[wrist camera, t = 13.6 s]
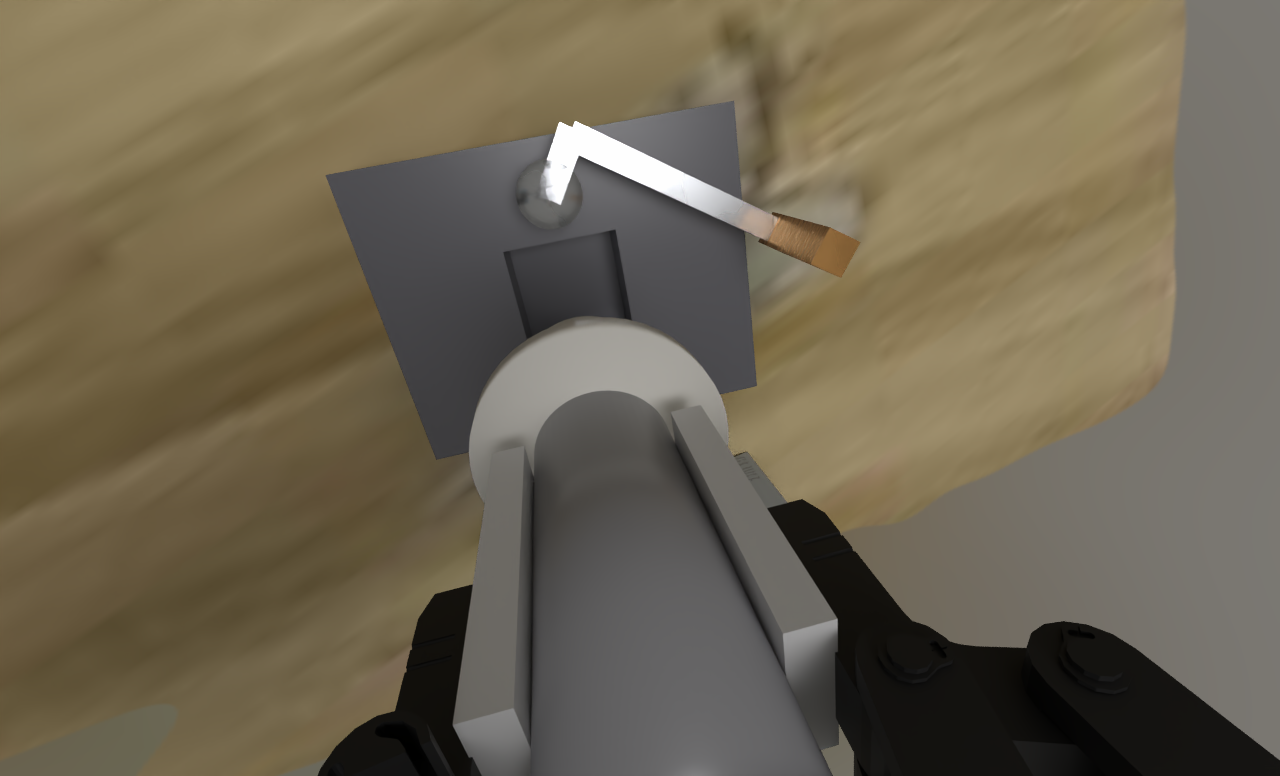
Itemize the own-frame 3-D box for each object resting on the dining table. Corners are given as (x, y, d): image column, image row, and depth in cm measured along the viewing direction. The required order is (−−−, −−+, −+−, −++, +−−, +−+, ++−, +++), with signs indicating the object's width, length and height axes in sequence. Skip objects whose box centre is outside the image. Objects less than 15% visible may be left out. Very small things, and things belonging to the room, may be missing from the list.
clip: (754, 311, 30) (802, 348, 24) (507, 212, 25) (499, 228, 20) (798, 224, 28) (860, 242, 23) (543, 102, 24) (544, 88, 18)
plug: (514, 482, 20) (473, 1071, 7) (460, 305, 17) (231, 759, 4) (693, 443, 20) (946, 916, 8) (671, 264, 18) (1016, 555, 5)
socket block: (446, 428, 36) (430, 477, 30) (352, 171, 29) (310, 177, 24) (735, 363, 37) (768, 398, 32) (710, 106, 31) (747, 97, 25)
